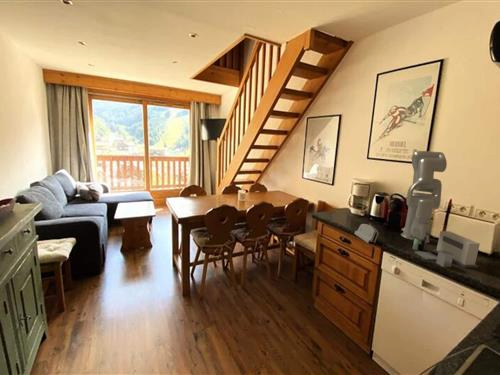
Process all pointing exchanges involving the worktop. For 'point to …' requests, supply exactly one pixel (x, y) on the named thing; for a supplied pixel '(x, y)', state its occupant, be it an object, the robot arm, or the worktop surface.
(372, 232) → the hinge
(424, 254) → the slate mat
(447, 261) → the metal block
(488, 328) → the worktop surface
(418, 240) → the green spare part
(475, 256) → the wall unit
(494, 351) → the worktop surface
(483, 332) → the worktop surface
